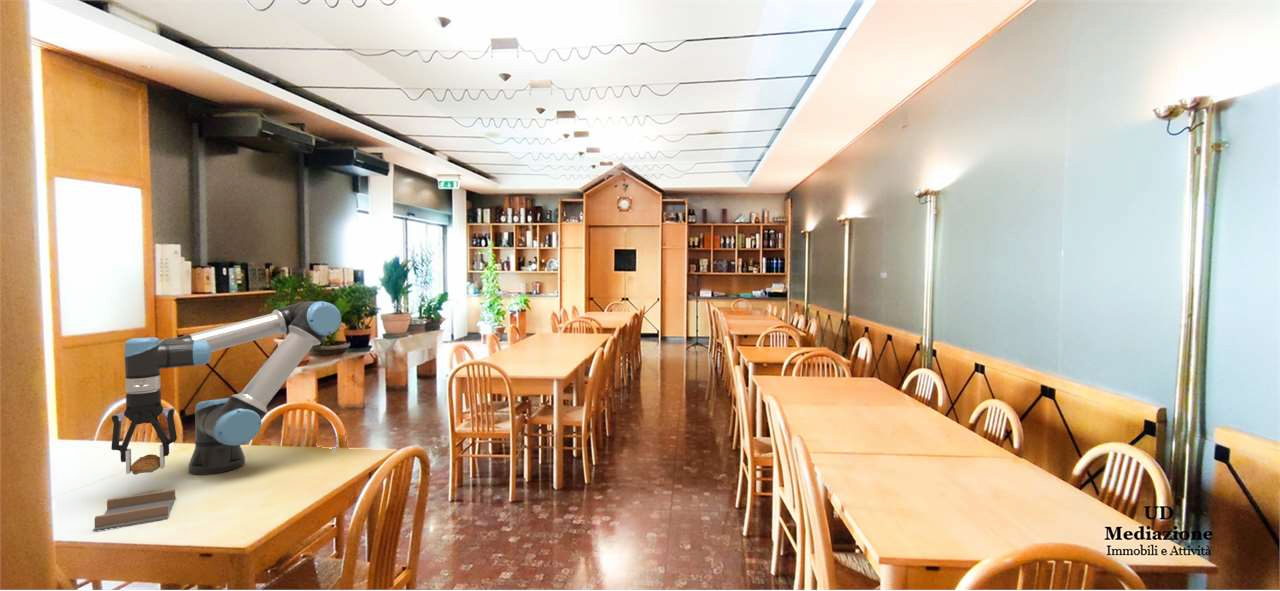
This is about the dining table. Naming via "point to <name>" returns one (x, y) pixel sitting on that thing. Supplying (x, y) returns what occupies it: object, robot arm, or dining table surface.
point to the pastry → (146, 464)
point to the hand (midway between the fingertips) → (145, 469)
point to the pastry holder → (136, 510)
